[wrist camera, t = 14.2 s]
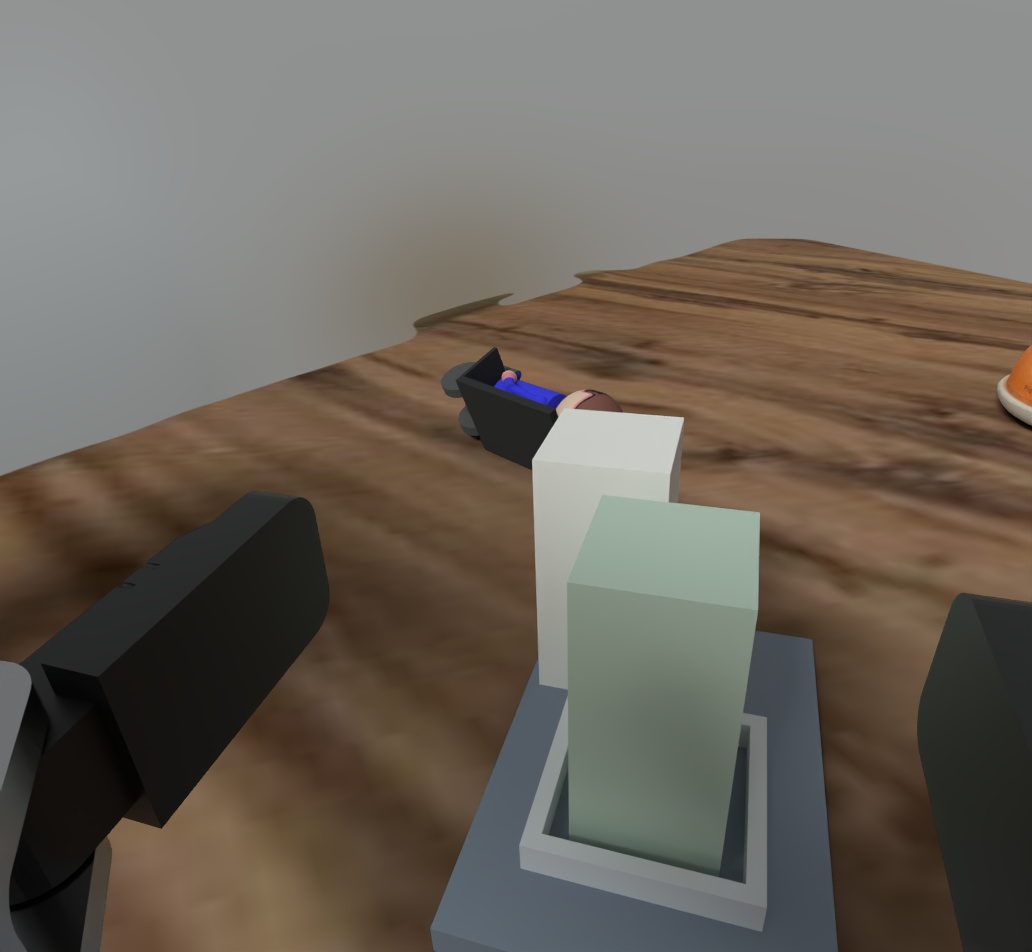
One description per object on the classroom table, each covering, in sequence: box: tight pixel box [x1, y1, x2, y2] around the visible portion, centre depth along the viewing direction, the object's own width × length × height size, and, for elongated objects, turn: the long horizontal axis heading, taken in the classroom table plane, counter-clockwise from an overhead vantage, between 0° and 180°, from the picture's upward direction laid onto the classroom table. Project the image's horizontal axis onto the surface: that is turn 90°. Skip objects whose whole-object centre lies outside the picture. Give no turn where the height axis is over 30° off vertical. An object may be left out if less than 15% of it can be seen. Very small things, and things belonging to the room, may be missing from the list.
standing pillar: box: [532, 408, 684, 690], centre depth 31 cm, size 5×5×11 cm
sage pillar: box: [567, 495, 760, 877], centre depth 24 cm, size 5×5×11 cm
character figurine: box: [441, 347, 623, 470], centre depth 52 cm, size 8×7×15 cm
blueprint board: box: [430, 631, 838, 952], centre depth 28 cm, size 12×17×2 cm
